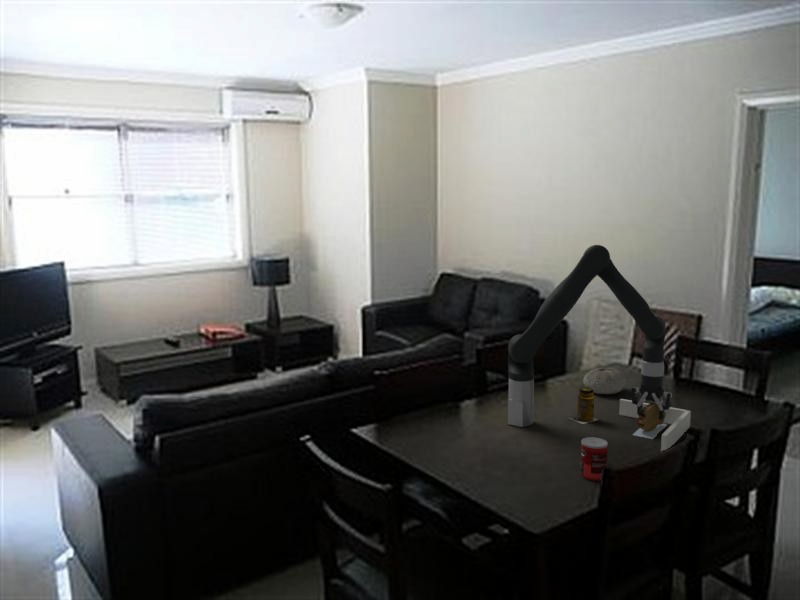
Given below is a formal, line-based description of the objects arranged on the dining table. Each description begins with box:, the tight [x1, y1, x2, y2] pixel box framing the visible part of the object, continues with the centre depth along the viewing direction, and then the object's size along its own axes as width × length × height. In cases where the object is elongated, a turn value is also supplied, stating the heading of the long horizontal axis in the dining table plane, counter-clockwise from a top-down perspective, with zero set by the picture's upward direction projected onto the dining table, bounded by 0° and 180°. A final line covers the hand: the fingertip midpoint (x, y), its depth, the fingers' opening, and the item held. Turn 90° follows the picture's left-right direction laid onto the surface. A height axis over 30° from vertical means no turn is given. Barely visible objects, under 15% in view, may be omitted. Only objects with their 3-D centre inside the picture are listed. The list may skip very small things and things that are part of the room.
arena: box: [618, 398, 692, 452], centre depth 246 cm, size 30×26×6 cm
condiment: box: [568, 386, 599, 425], centre depth 259 cm, size 7×8×12 cm
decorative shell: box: [582, 367, 628, 395], centre depth 293 cm, size 18×18×10 cm
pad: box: [632, 423, 668, 440], centre depth 248 cm, size 17×7×1 cm, turn 143°
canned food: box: [580, 436, 609, 482], centre depth 210 cm, size 8×8×11 cm
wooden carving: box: [634, 402, 666, 431], centre depth 247 cm, size 16×5×10 cm, turn 132°
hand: (650, 417), depth 247 cm, fingers open, 6 cm apart
